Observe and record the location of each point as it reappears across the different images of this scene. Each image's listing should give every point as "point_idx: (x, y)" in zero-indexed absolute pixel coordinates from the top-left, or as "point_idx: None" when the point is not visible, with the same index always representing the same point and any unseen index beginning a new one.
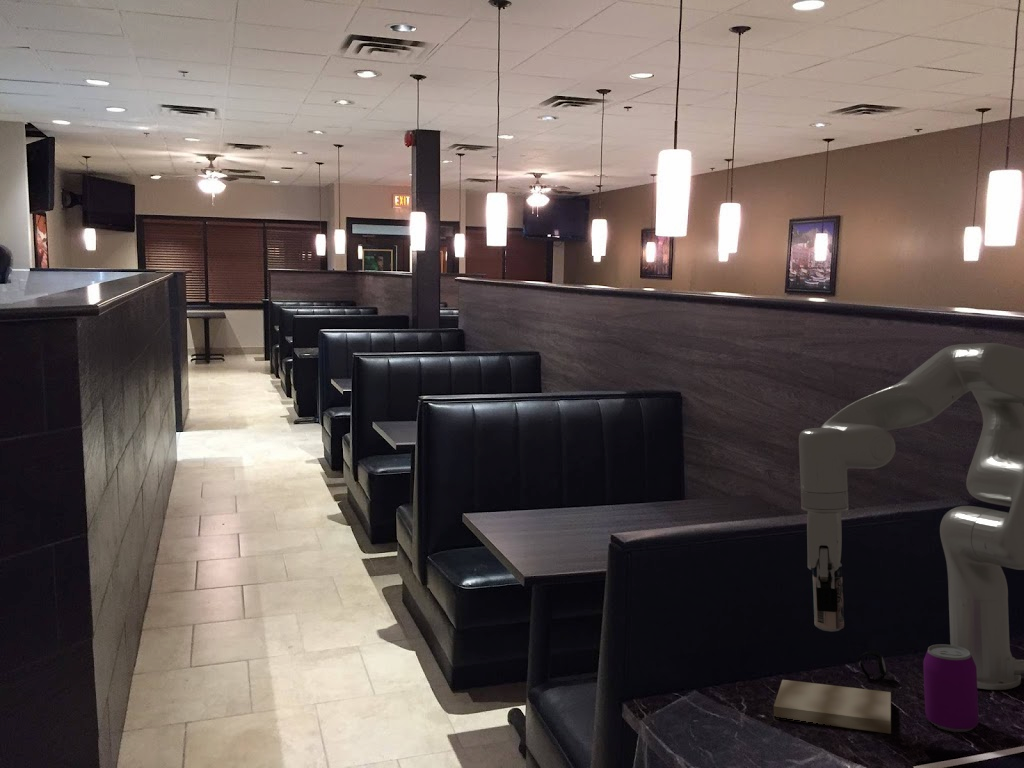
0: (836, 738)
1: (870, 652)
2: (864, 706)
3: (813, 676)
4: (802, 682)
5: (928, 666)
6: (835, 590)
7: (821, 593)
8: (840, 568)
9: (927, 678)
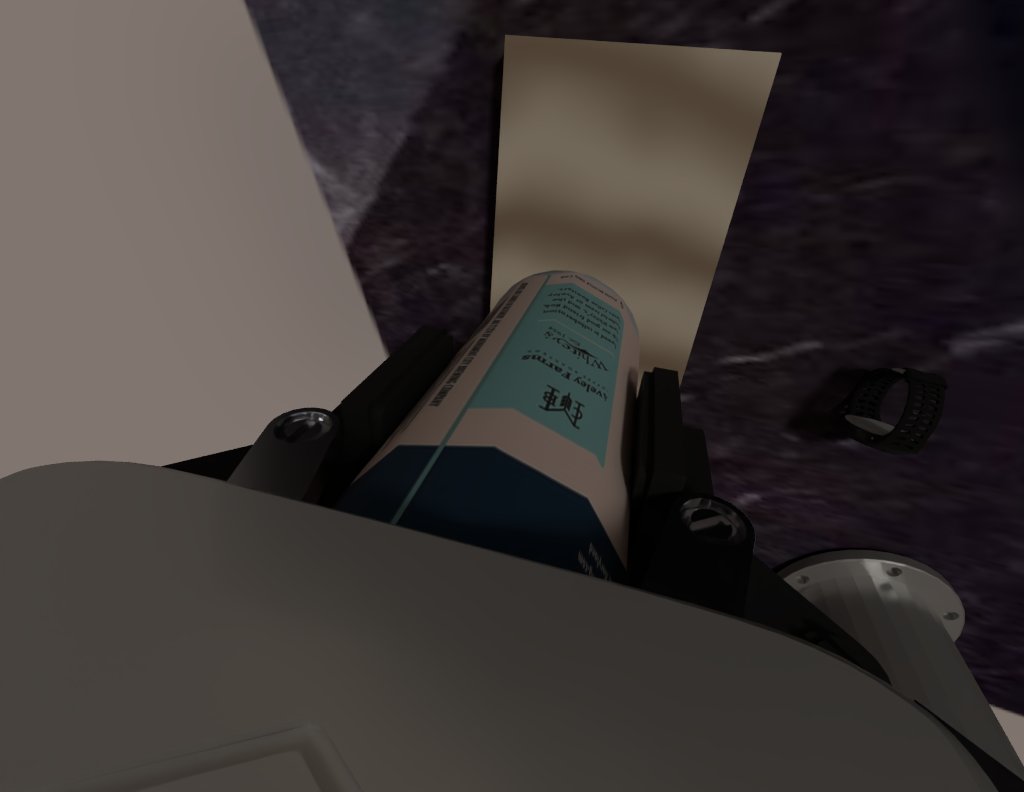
0: (436, 236)
1: (909, 428)
2: None
3: (924, 188)
4: (747, 146)
5: None
6: None
7: (337, 410)
8: None
9: None
